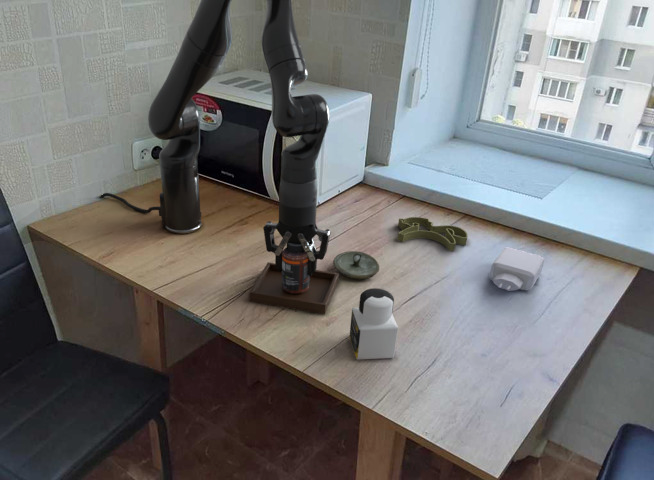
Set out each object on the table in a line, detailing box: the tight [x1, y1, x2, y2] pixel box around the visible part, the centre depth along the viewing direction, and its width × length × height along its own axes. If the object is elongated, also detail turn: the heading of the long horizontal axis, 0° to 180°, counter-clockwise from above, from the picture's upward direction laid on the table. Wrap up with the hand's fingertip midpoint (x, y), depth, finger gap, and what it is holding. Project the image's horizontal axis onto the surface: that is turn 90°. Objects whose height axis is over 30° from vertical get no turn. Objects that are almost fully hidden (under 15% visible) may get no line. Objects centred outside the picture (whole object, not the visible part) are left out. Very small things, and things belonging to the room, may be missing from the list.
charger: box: [488, 247, 545, 292], centre depth 135 cm, size 5×9×15 cm
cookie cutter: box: [397, 216, 468, 252], centre depth 155 cm, size 18×12×2 cm, turn 66°
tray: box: [248, 262, 340, 315], centre depth 132 cm, size 16×13×2 cm
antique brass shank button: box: [332, 250, 380, 280], centre depth 139 cm, size 11×10×5 cm
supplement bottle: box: [282, 243, 309, 294], centre depth 129 cm, size 6×6×11 cm
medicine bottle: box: [348, 287, 399, 361], centre depth 112 cm, size 7×7×12 cm
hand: (295, 271), depth 130 cm, fingers closed on supplement bottle, 6 cm apart
